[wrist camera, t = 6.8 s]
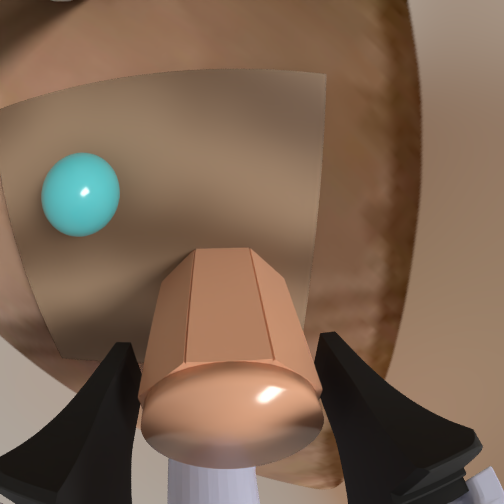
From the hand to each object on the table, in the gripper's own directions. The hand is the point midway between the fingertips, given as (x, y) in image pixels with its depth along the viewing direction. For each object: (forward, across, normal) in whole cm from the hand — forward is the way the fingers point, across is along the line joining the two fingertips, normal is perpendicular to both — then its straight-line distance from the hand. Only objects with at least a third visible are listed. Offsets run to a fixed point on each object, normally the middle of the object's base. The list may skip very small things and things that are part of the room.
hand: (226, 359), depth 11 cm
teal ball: (+2, +5, -6) cm, 8 cm away
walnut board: (+5, +3, -3) cm, 6 cm away
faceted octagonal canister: (+3, 0, 0) cm, 3 cm away
